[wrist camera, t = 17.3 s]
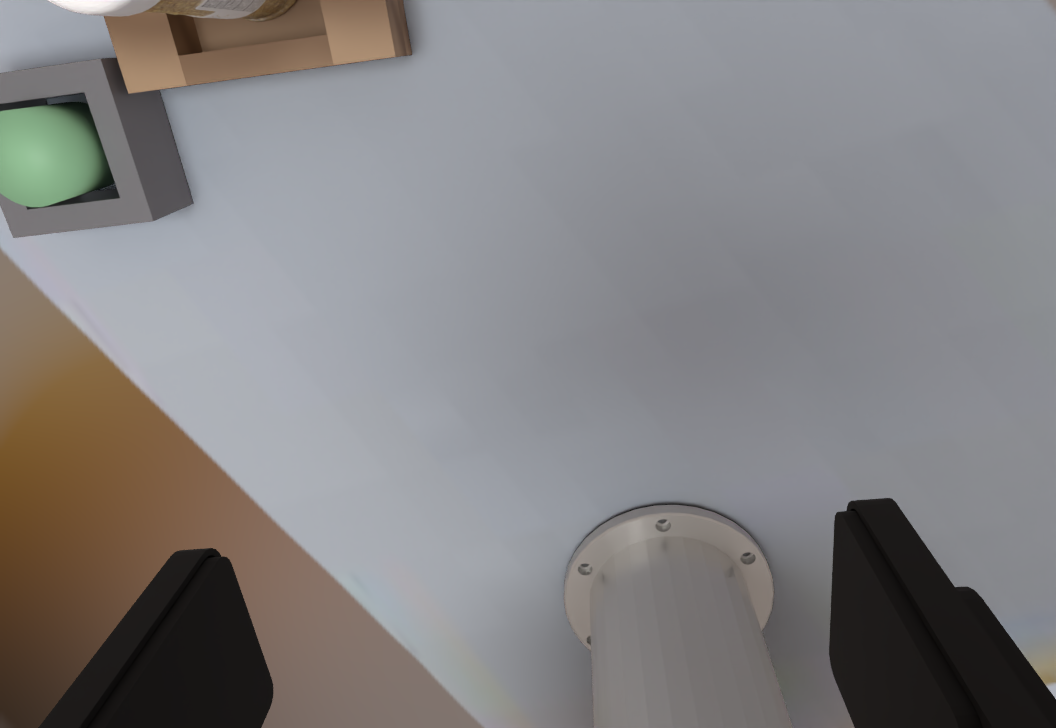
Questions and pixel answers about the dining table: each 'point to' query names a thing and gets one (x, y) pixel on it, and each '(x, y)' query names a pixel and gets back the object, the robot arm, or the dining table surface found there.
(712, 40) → the dining table surface
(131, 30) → the wooden compartment tray
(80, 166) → the button
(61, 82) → the gray square box
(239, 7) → the sprinkles bottle
